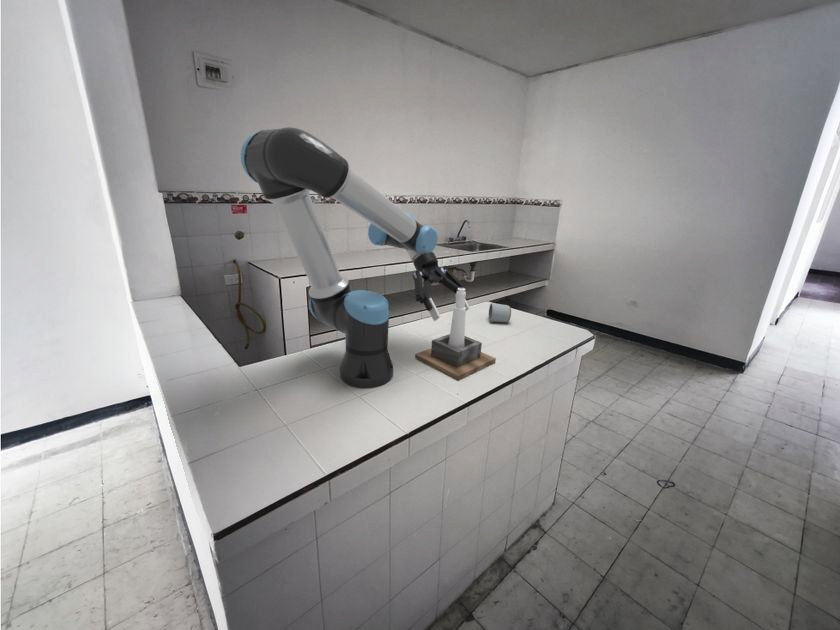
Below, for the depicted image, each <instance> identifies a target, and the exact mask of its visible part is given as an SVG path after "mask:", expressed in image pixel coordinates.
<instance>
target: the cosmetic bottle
mask: <svg viewBox="0 0 840 630" xmlns="http://www.w3.org/2000/svg"><path fill="white" fill-rule="evenodd" d="M466 293H467V292H466V288H458V291H457V293H455V294H456V297H455V305H454V307H453V308H452V309H453V311H452V318H451V324H450V325H451V326H450V330H449V331H450V332H449V334H450V338H449V344H448V345H450V346H452V347H454V348H457V349H460V348H463V347H464V336H466V335H465V334H466V333H465V332H466V312H467V311H466V308H465V298H466V295H467V294H466Z"/></svg>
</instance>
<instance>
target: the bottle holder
mask: <svg viewBox="0 0 840 630" xmlns="http://www.w3.org/2000/svg"><path fill="white" fill-rule="evenodd" d="M449 338H450V333H448V334H445V335H443V336H440V337H438V338H437V337H436V338H435V339H432V340H431V347H430V348H428V349H425V350H422V351H420V352H417V353H415V354H414V355H415V356H414V359H416V360H418V361H420V362H421V363H424V364H425V365H428V366H430V367H431V368H433V369H435V370H437V371H440V372H442V373H443V374H445V375H447V376H448V377H451V378H453V379H455V380H456V381H460V380H462V379H464V378H467V377H468V376H471V375H473V374H475V373H477V372H479V371H481V370H483V369H485V368H487V367H488V366H491V365H493V364H495V363H496V360H497V358H496V357H494V356H491V355H489V354H487V353H485V352H483V351H482V345H483V343H482V342H480V341H479V340H476V339H474V338H471V337H468V336H467V335H465V336H464V347H463V348H460V349H457V348H454V347H452V346H450V345H448V344H449Z"/></svg>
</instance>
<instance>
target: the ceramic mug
mask: <svg viewBox="0 0 840 630" xmlns="http://www.w3.org/2000/svg"><path fill="white" fill-rule="evenodd" d="M488 308H489V309H488V318H487V319H488V322H491V323H509V322H510V320H511V317H512V308H511V306H510V305H507V304H501V303H495V302H494V303H493V302H491V303H490V304H489V307H488Z"/></svg>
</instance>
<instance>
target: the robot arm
mask: <svg viewBox="0 0 840 630" xmlns="http://www.w3.org/2000/svg"><path fill="white" fill-rule="evenodd" d="M240 162H241V165H242V168H243V170H244V172H245V174H246V175H247V176H248V177H249V178H250V180H252V181H254V182H255V183H256V184H258V186H259V188H260V191H261V192H262V195H263V197H264V199H265V200H266V201H268V202H270V203H272V204H273V205H274V206H275V207H276V210H277V213H278V215H279V217H280V219H281V221H282V223H283V225H284V228H285V230H286V232H287V235H288V236H289V238H290V242H291V244H292V246H293V247H294V250H295V253H296V254H297V257H298V260H299V261H300V263H301V266H302V268H303V270H304V272H305V275H306V277H307V279H308V281H309V283H310V288H309V289H308V295H309V298H310V299H309V300H308V305H309V311H310V312H311V314H312V316H313V317H314V319H316V320H317V321H319V322H320V323H322V324H323V325H325V326H328V327H330V328H332V329H334V330H336V331H338V332H341V333H342V334H344V336H345V337H344V338H345V351H344V354H343V358H342V361H341V364H340V367H339V378H340V380H341V381H342V382H343V383H345V384H347V385H349V386H351V387H356V388H368V389H369V388H375V387H379V386H382V385H385V384H386V383H388V382H390V381H391V380H392V378H394V364H393V361H392V358H391V355H390V352H389V350H388V347H389V325H390V323H389V321H390V311H389V302H388V300H387V298H386V297H385V296H383V295H382V294H380V293H379V292H376V291H372V290H370V291H368V290H365V289H364V290H363V289H358V290H353V289H352V286H351V284H350V282H349V279H348V277H347V276H345V275H342V274H341V273H340V270H339V267H338V265H337V263H336V260H335V258H334V255H333V252H332V249H331V247H330V244H329V242H328V239H327V237H326V234H325V232H324V231H325V230H324V228H323V227H322V223H321V221H320V219H319V216H318V213H317V211H316V207H315V205H314V203H313V200H312V198H311V195H310V191H311V192H313V193H316V194H318V195H319V196H321V197H322V198H324V199H331V198H332V199H334V200H335V201H337V202H338V203H340V204H341V205H343V206H344V207H345V208H347V209H349V210H350V211H352V212H353V213H355V214H357V215H358V216H359V217H361V218H362V219H364V220H365V221H367V222H369V223H370V224H369V226H368V228H367V229H368V231H367V235H368V236H367V237H368V240H369V241H370V243H371V244H373V245H375V246H383V247H384V246H389V247H394V248H398V249H403V250H405V251H406V253H407V254H408V256H409V258H410V259H411V262H412V263H413V266H414V268H415V270H416V271H414V273H412V278H413V281H414V295H415V301H416V302H419V303H420V304H423V305H424V307H425V309H426V311H428V312H429V314H430V316H431V318H432V320H433V322H436V321H437V320H439V319H440V318H441V313H440V312H439V310H438V308H437V306H436V304H435V302H434V301H433V299H432V297H430V290H431V286H432V284H434V283H435V284H437V283H438V284H440V285H443V286H445V287H446V288H447V289H449V290H450V291H451V292H453V293H455V295H454V297H455V298H456V293H457V291H458V288H464V289H466V286H465V285H464V284H463V283H462V282H461V281H460V280H459V279H458V278H457V277H456V276H455V275H454V274H453V272H452V271H450V269H449V268H448V266H447V265H443V267H441V268H440V266H439V260H438V258H437V256H436V255H435V253H434V252H433V251H434V250H435V249H436V246H437V244H438V239H439V235H438V232H437V230H436V229H435V228H434V227H433V226H428V225H425V224H421V223H419V222H418V220H417V219H416V217H415V216H414V214H412V213H410V212H405V211H404V210H403V209H401V208H400V207H399V206H398V205H396V204H395V203H394V202H392V200H390V199H389V198H388V197H386V196H385V195H384V194H382V193H381V192H380V191H379V190H377V189H376V188H375V187H373V186H372V185H371V184H369V183H368V182H367V181H366V180H364V179H363V178H362V177H361V176H360V175H358V174H357V173H356V172H355V171H353V170H351V169H350V168H351V166H350V163H349V161H348V160H346V159H345V158H344V157H343V156H342V155H340V154H339V153H338V152H337V151H335V150H334V149H333V148H331V147H330V146H329V145H327V144H326V143H325V142H323V141H322V140H320V139H319V138H317V137H316V136H314V135H313V134H311V133H309V132H307V131H305V130H303V129H300V128H296V127H290V126H288V127H282V128H281V127H280V128H273V129H263V130H259V131H257V132H254V133H252V134H250V135H248V137H247V138H246V139H245V140H244V142H243V144H242V146H241V149H240ZM465 308H466V312H467V311H469V310H470V309H471V307H470V305H469V304H468V302H467V298H466V297H465Z"/></svg>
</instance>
